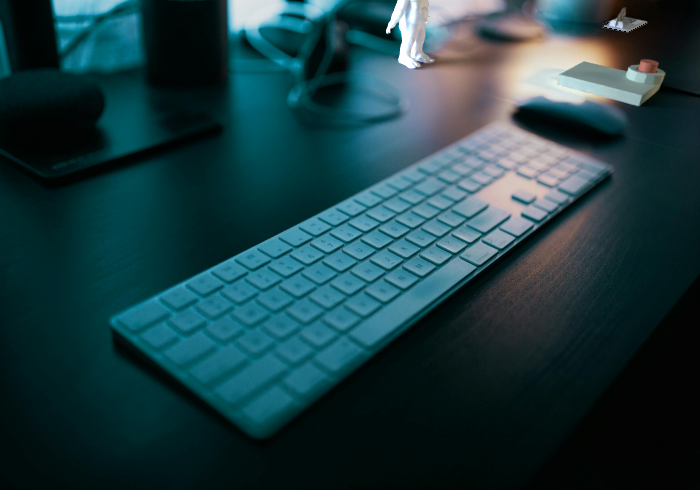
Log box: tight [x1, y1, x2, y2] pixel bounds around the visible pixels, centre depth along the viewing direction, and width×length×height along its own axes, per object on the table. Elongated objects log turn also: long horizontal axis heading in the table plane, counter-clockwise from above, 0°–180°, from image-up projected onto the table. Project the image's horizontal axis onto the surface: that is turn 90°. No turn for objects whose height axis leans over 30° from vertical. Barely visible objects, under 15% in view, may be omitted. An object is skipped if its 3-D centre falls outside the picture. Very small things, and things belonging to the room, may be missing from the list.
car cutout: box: [603, 7, 648, 33], centre depth 144 cm, size 15×7×4 cm, turn 140°
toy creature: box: [385, 0, 436, 69], centre depth 103 cm, size 12×6×12 cm, turn 140°
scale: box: [556, 61, 666, 107], centre depth 101 cm, size 14×12×4 cm
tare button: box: [638, 58, 659, 73], centre depth 99 cm, size 3×3×2 cm
